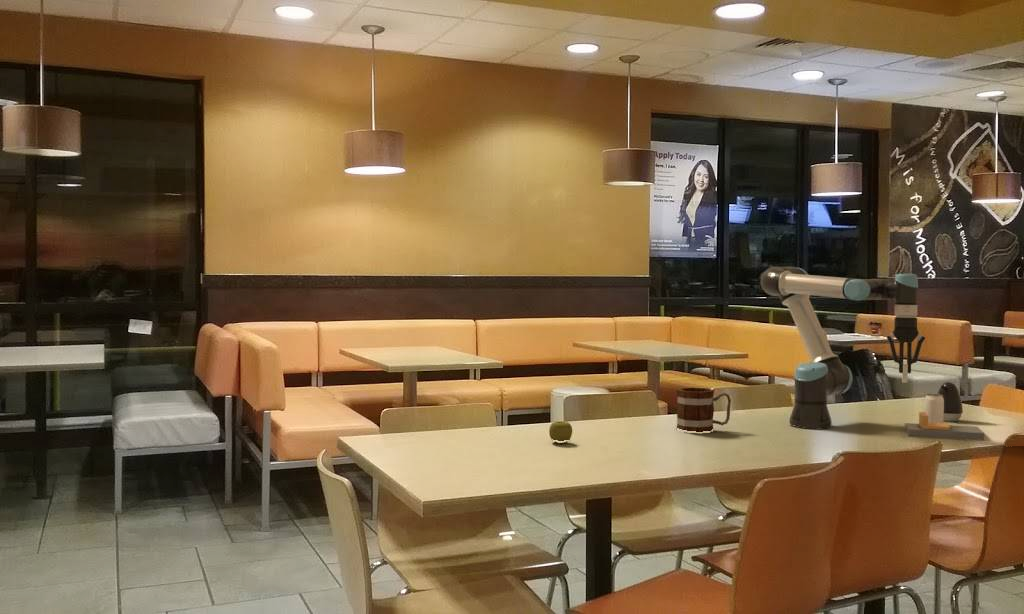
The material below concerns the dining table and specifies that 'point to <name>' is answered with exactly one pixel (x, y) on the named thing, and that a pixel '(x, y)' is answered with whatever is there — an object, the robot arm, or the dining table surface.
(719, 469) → the dining table surface
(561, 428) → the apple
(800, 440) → the dining table surface
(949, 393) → the black rounded upright piece
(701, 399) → the mug
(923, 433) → the socket plate
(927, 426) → the orange l-shaped block
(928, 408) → the can
